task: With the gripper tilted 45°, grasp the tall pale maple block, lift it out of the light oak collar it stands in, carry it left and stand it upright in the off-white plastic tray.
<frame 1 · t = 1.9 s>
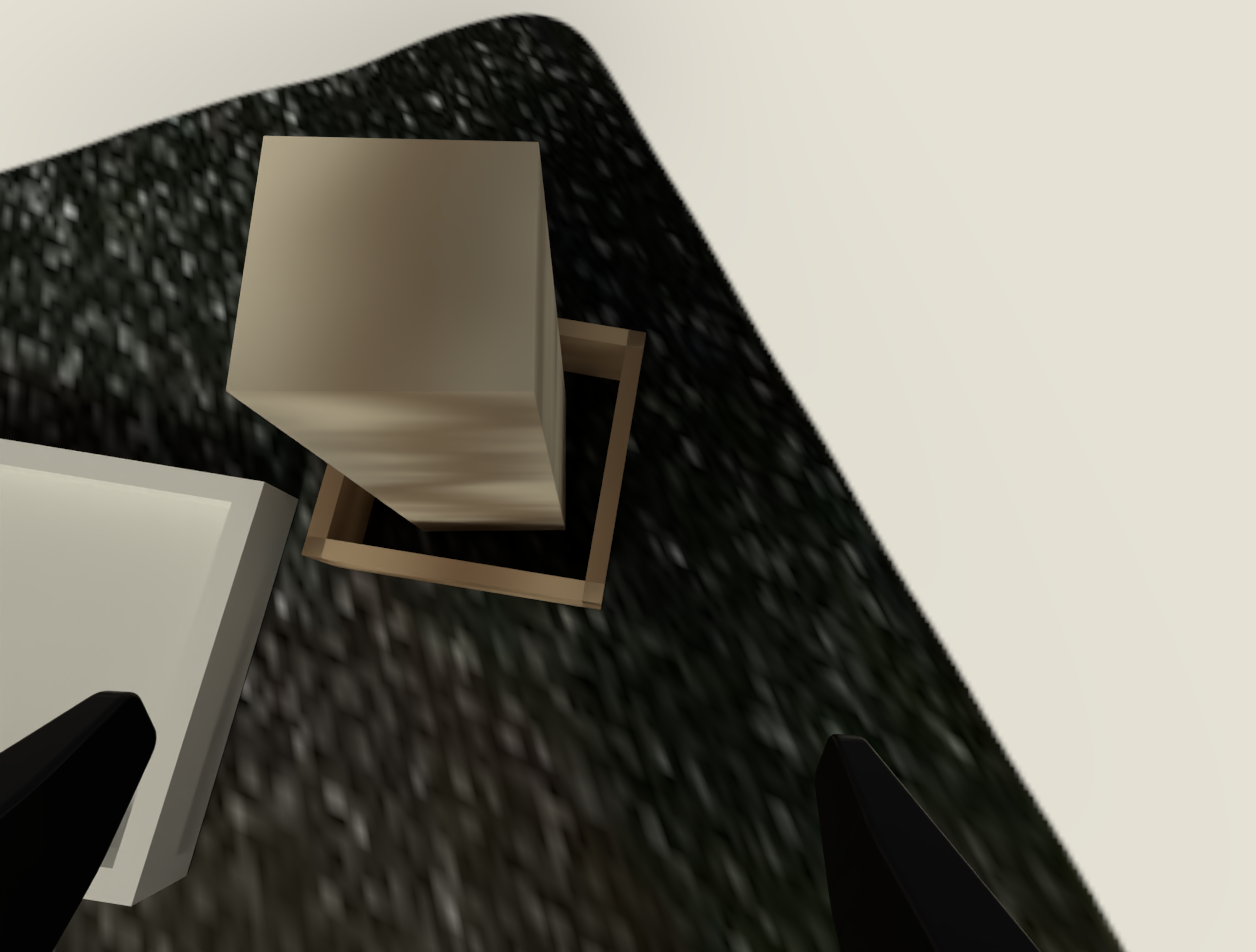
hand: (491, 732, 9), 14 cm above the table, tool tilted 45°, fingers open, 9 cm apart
maple block: (463, 396, 18), in the oak collar
white tray: (51, 642, 22), on the table
oak collar: (497, 463, 24), on the table
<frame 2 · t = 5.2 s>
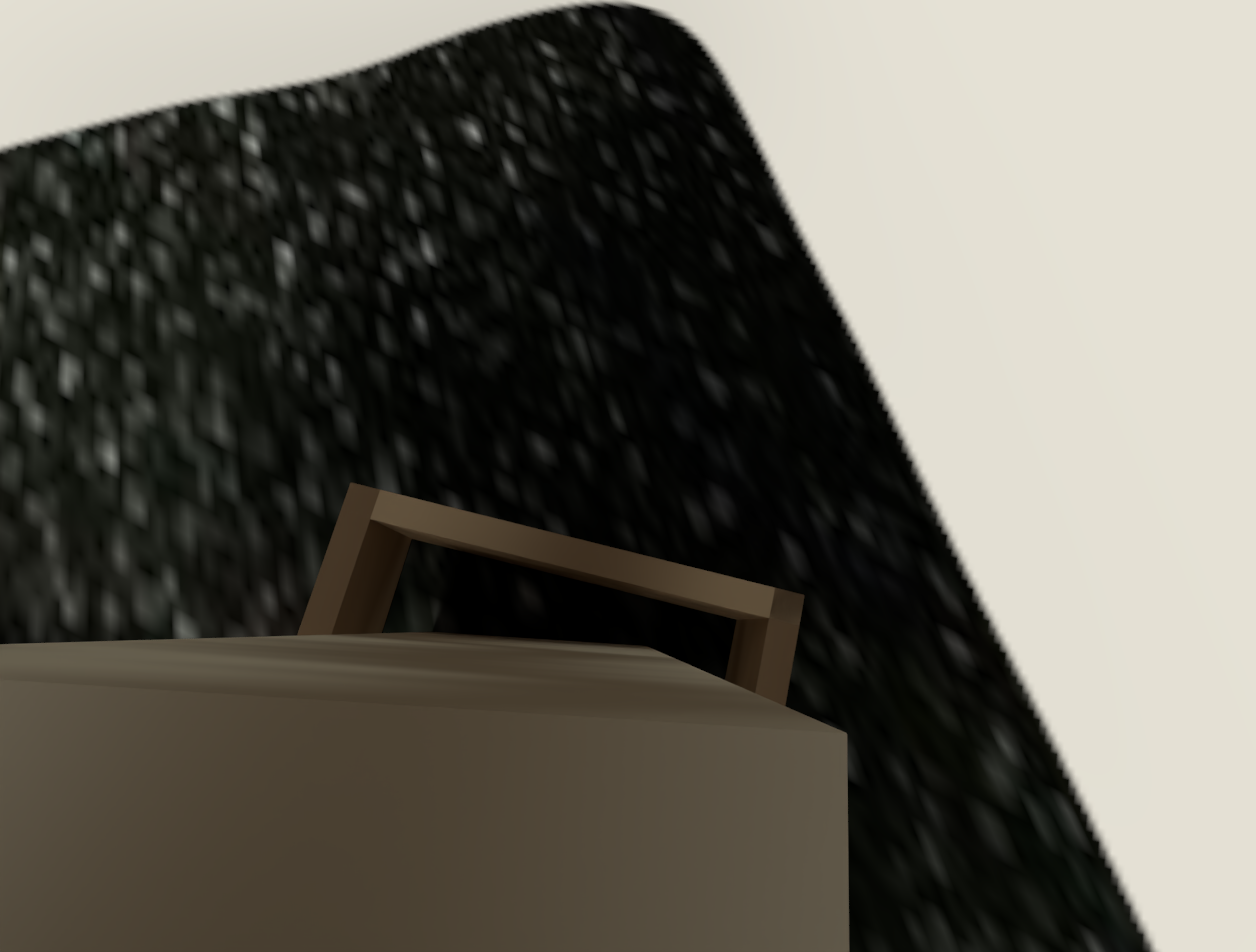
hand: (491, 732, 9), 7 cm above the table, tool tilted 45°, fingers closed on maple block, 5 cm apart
maple block: (474, 847, 8), in the oak collar, touching gripper
oak collar: (528, 753, 15), on the table
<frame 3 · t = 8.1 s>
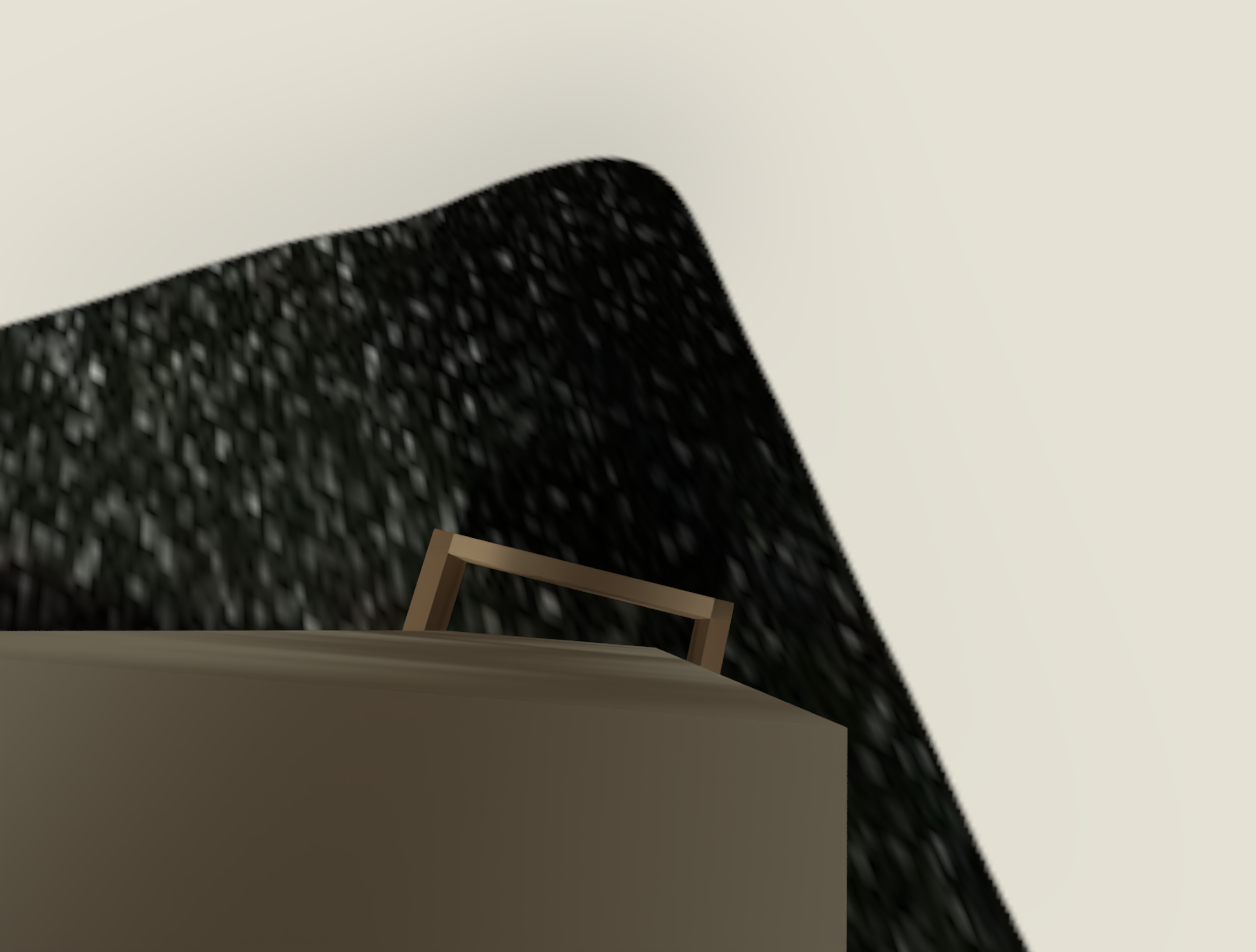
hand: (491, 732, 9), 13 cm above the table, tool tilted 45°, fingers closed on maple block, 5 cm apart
maple block: (481, 843, 9), point 13 cm above the table, touching gripper
oak collar: (550, 711, 21), on the table
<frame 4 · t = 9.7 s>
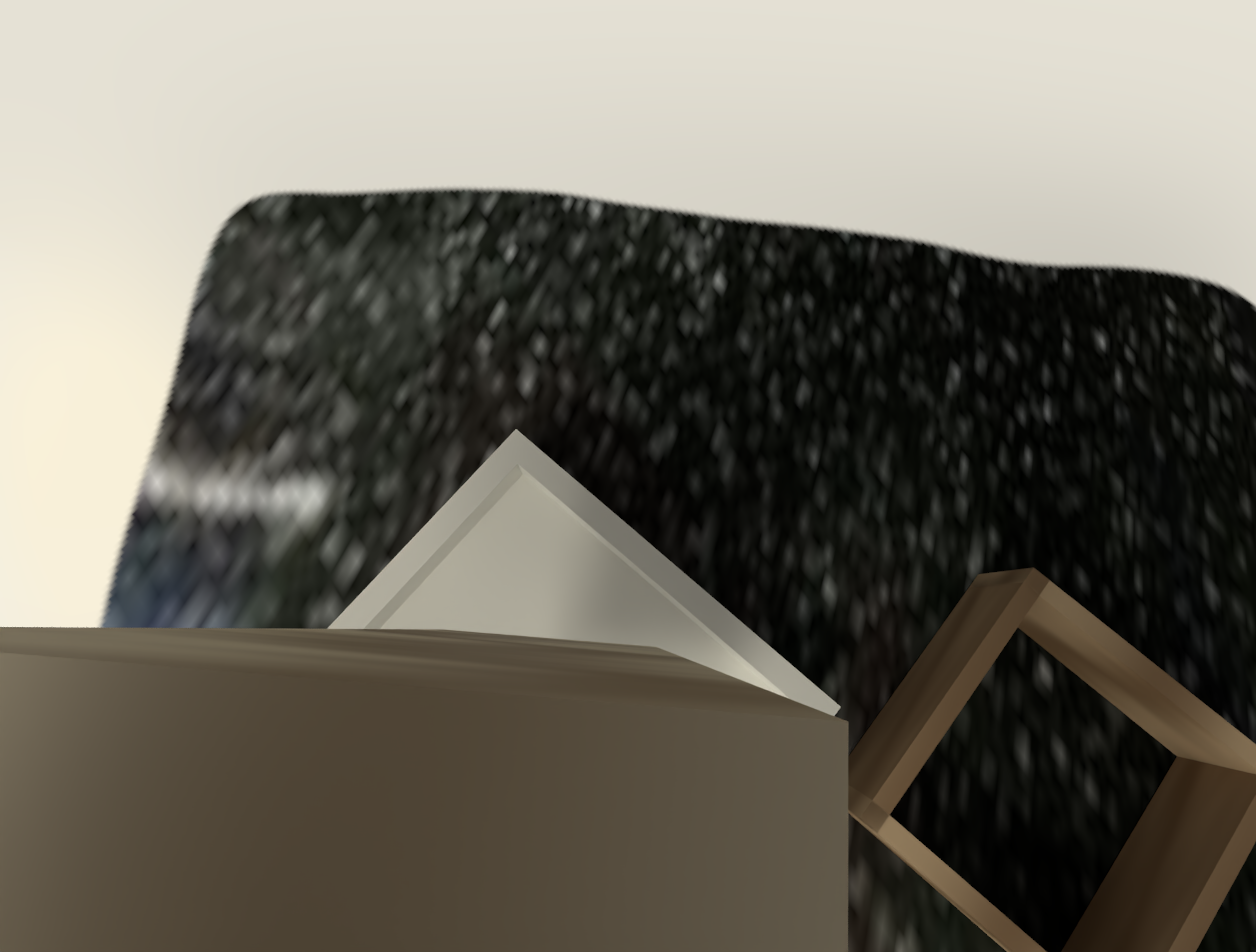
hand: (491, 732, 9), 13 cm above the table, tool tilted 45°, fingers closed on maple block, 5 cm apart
maple block: (482, 841, 9), point 13 cm above the table, touching gripper
white tray: (547, 709, 21), on the table
oak collar: (1015, 772, 22), on the table
when the fingers open (8 cm above the table, at t = 11.2 s): maple block stays where it is, resting on white tray.
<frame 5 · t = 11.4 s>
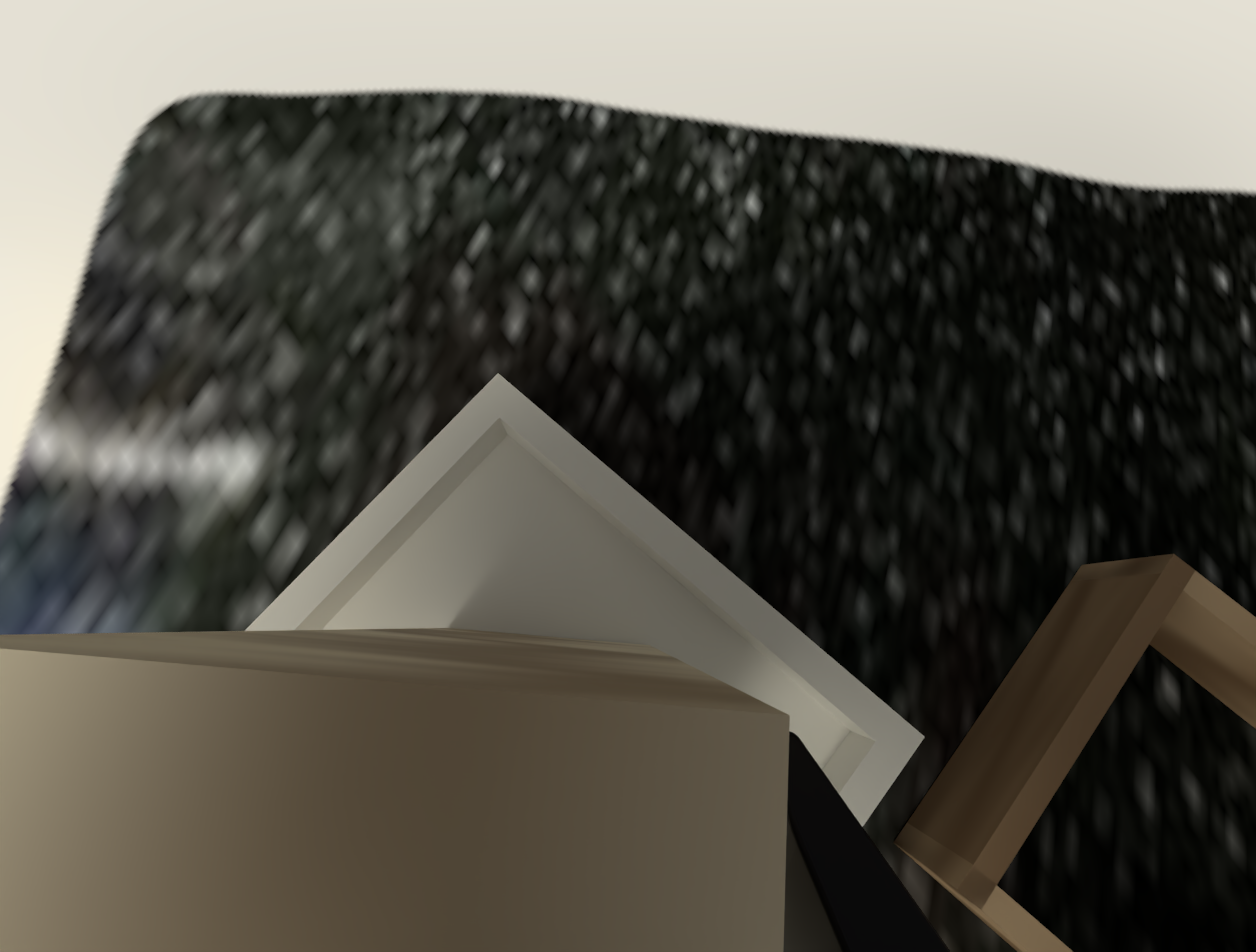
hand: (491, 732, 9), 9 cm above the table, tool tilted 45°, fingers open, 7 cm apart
maple block: (487, 824, 9), in the white tray, point 8 cm above the table
white tray: (537, 736, 17), on the table
oak collar: (1138, 817, 17), on the table
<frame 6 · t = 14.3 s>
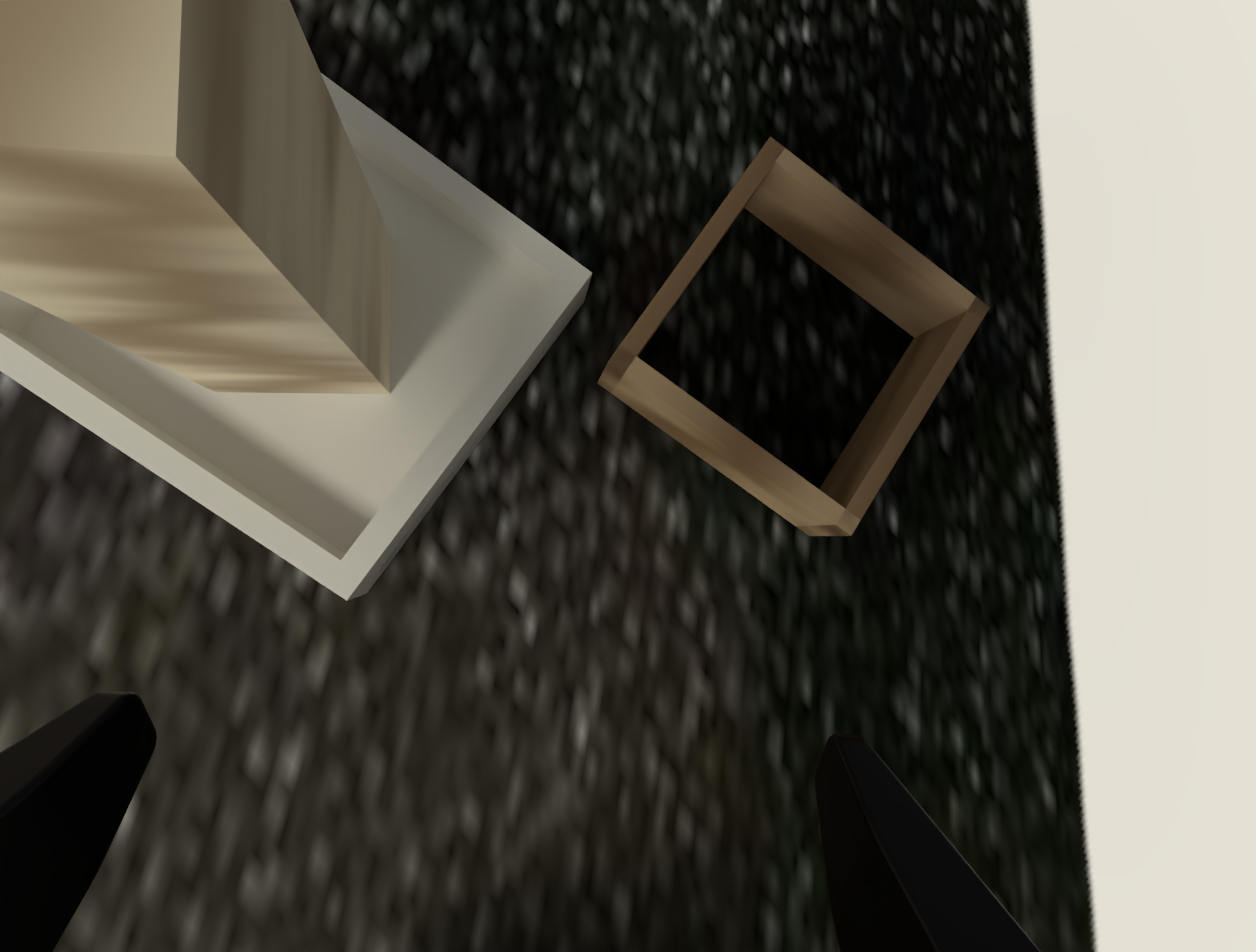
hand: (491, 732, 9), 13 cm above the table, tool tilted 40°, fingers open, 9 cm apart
maple block: (208, 210, 14), in the white tray, point 8 cm above the table
white tray: (313, 323, 21), on the table
oak collar: (773, 357, 24), on the table
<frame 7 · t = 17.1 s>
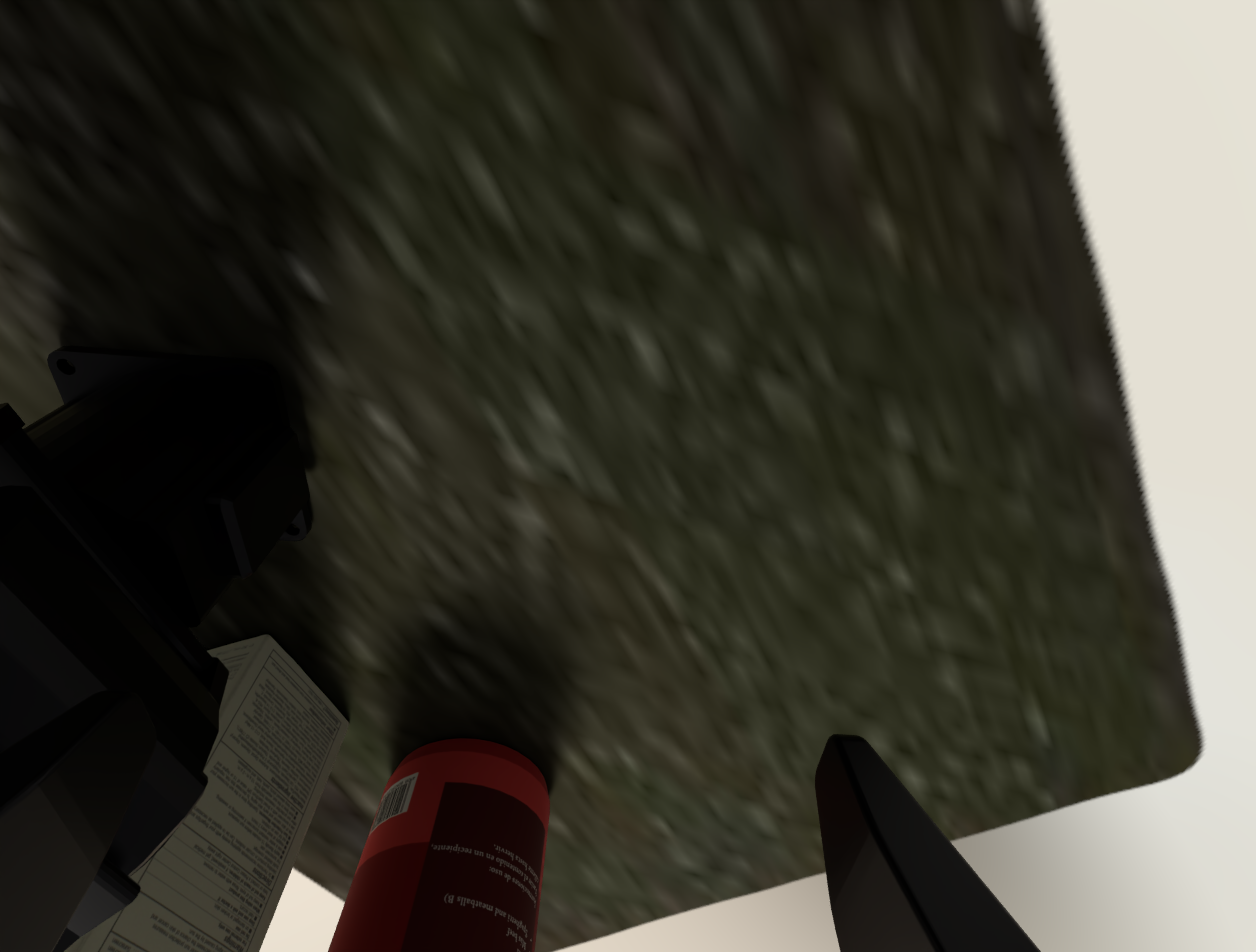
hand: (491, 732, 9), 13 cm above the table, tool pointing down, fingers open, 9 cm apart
skincare box: (276, 687, 28), on the table
canned food: (472, 782, 31), on the table
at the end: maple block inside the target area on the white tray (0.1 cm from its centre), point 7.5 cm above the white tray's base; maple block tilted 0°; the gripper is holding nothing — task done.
